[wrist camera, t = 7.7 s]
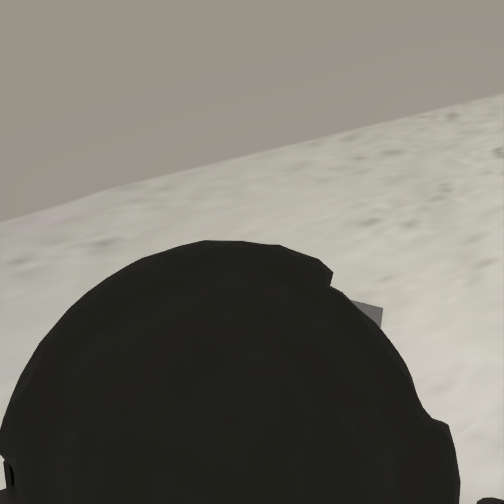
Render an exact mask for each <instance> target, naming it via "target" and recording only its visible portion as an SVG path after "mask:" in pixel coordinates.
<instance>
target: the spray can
mask: <svg viewBox="0 0 504 504" xmlns="http://www.w3.org/2000/svg"><path fill="white" fill-rule="evenodd" d="M332 276H333V272H332V271H331V270H330V269H329V268H328V267H327V266H326V265H325V264H323V263H322V262H321V261H320V260H319V259H317V258H314V257H311V256H308V255H305V254H302V253H299V252H296V251H293V250H291V249H288V248H286V247H283V246H281V245H267V244H260V243H252V242H245V241H212V240H204V241H199V242H195V243H191V244H186V245H182V246H178V247H175V248H172V249H169V250H166V251H163V252H160V253H157V254H154V255H150V256H147V257H144V258H141V259H139V260H137V261H135V262H134V263H132V264H130V265H128V266H126V267H124V268H123V269H121V270H119V271H118V272H116V273H114V274H113V275H111V276H110V277H108V278H106V279H105V280H104V281H102V282H101V283H99V284H98V285H97V286H95V287H94V288H92V289H91V290H90V291H88V292H87V293H86V294H85V295H83V296H82V297H81V298H80V299H79V300H78V301H77V302H76V303H75V304H73V305H72V306H71V307H70V308H69V309H68V310H67V311H66V313H65V314H64V315H63V316H62V317H61V318H60V320H59V321H58V322H57V323H56V324H55V326H54V327H53V328H52V329H51V330H50V331H49V333H48V334H47V335H46V336H45V337H44V338H43V340H42V341H41V342H40V343H39V345H38V346H37V348H36V350H35V352H34V353H33V355H32V357H31V358H30V360H29V362H28V363H27V365H26V367H25V369H24V370H23V372H22V374H21V375H20V378H19V380H18V382H17V384H16V387H15V389H14V391H13V394H12V396H11V399H10V402H9V404H8V407H7V410H6V412H5V415H4V418H3V422H2V425H1V428H0V455H1V456H2V457H3V458H4V459H5V460H6V461H7V463H8V464H9V465H10V466H11V467H12V468H13V472H14V485H15V504H459V496H460V483H461V482H460V476H459V470H458V464H457V457H456V451H455V447H454V443H453V439H452V436H451V432H450V429H449V425H448V424H446V423H444V422H442V421H439V420H435V419H432V418H431V417H430V415H429V414H428V413H427V412H426V411H425V409H424V408H423V406H422V404H421V402H420V400H419V398H418V396H417V393H416V390H415V387H414V383H413V380H412V376H411V374H410V372H409V370H408V368H407V366H406V364H405V362H404V360H403V359H402V357H401V356H400V354H399V352H398V351H397V350H396V348H395V347H394V346H393V344H392V343H391V341H390V340H389V339H388V338H387V336H386V335H385V334H384V333H383V331H382V330H381V329H380V327H379V326H378V325H377V324H376V322H374V321H373V320H372V319H371V318H369V317H368V316H367V315H366V314H365V313H363V312H362V311H361V310H360V309H359V308H358V307H357V306H356V305H355V304H354V303H353V302H352V301H351V300H350V299H349V298H347V297H346V296H345V295H344V294H343V293H342V292H341V291H339V290H337V289H335V288H333V287H331V286H330V284H331V280H332Z"/></svg>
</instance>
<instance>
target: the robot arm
mask: <svg viewBox="0 0 504 504" xmlns="http://www.w3.org/2000/svg"><path fill="white" fill-rule="evenodd" d="M3 464H4V472H5V480H6V488H5V489H3V490H0V504H15V485H14V472H13V468H12V467H11V466H10V465H9V464H8V463H7V461H6V460H4V462H3ZM477 504H504V500H501V499H496V498H482V499H481V500H479V501H477Z"/></svg>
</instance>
